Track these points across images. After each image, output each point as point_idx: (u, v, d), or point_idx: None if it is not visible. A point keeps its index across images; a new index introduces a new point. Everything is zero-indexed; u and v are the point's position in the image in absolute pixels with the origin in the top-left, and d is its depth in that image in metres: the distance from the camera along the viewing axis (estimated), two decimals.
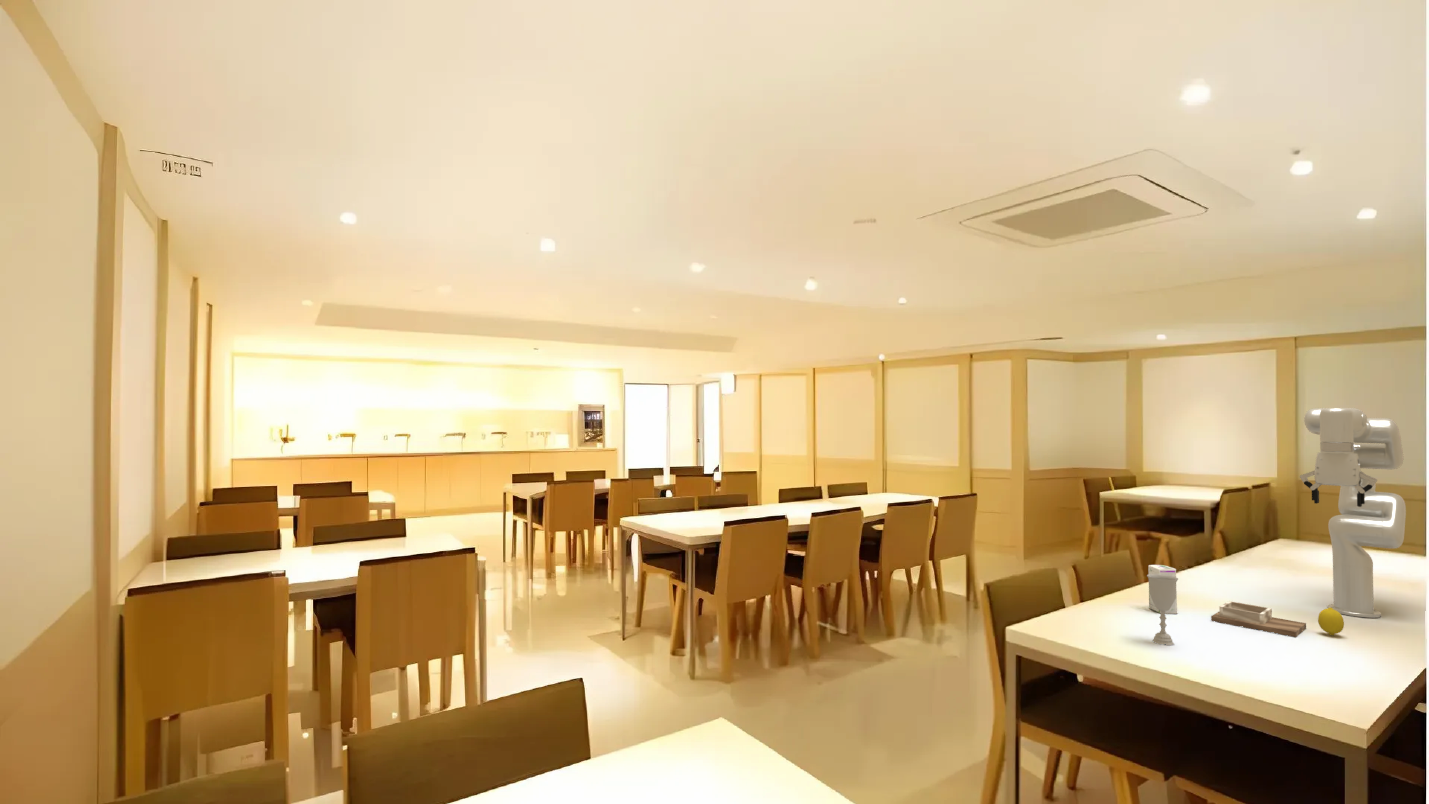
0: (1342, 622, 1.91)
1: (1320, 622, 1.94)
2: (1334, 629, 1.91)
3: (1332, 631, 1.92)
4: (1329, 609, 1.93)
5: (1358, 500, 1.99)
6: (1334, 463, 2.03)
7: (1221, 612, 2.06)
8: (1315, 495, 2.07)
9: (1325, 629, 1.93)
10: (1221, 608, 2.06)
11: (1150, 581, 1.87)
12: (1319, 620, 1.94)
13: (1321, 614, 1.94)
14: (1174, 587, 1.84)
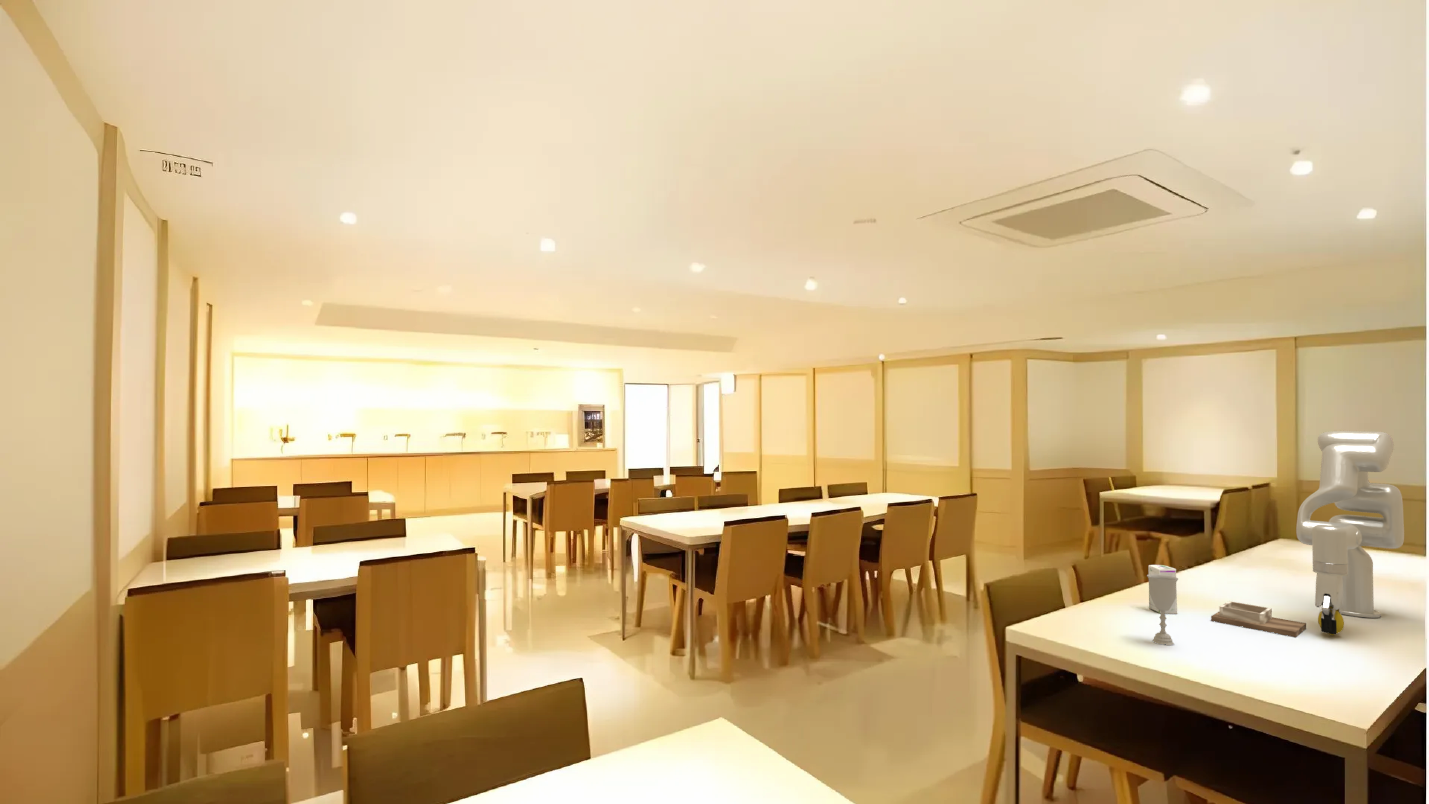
0: (1342, 622, 1.91)
1: (1320, 622, 1.94)
2: None
3: None
4: None
5: None
6: (1341, 585, 1.92)
7: (1221, 612, 2.06)
8: None
9: None
10: (1221, 608, 2.06)
11: (1150, 581, 1.87)
12: (1319, 620, 1.94)
13: (1321, 614, 1.94)
14: (1174, 587, 1.84)
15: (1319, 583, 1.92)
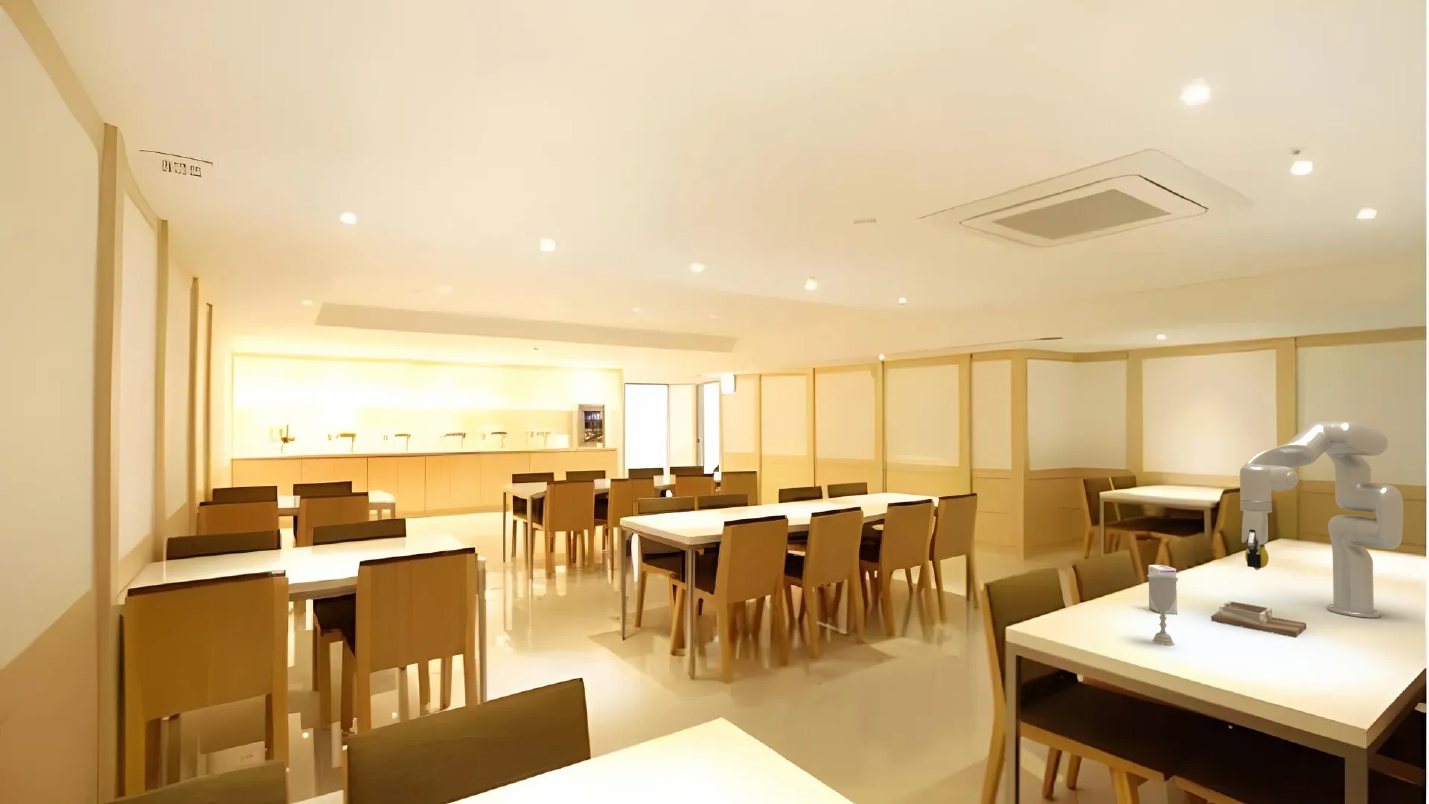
0: (1266, 557, 2.02)
1: None
2: None
3: None
4: None
5: None
6: (1266, 522, 2.03)
7: (1221, 612, 2.06)
8: (1260, 559, 2.01)
9: None
10: (1221, 608, 2.06)
11: (1150, 581, 1.87)
12: (1246, 556, 2.05)
13: None
14: (1174, 587, 1.84)
15: (1245, 520, 2.03)
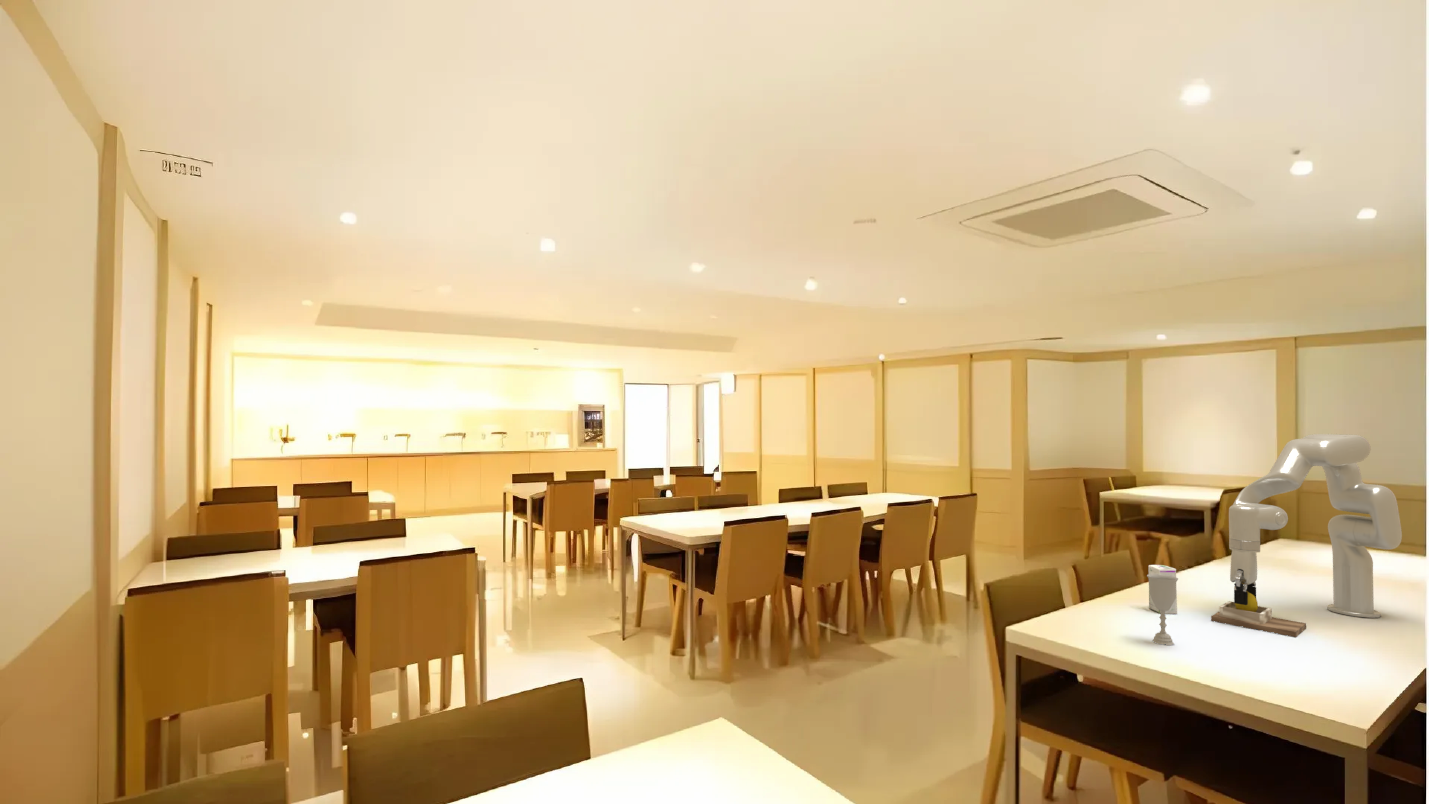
0: (1256, 604, 2.04)
1: (1236, 604, 2.07)
2: None
3: None
4: None
5: (1255, 594, 2.08)
6: (1254, 561, 2.04)
7: (1221, 612, 2.06)
8: (1247, 596, 2.02)
9: None
10: (1221, 608, 2.06)
11: (1150, 581, 1.87)
12: (1235, 603, 2.07)
13: None
14: (1174, 587, 1.84)
15: (1233, 559, 2.05)
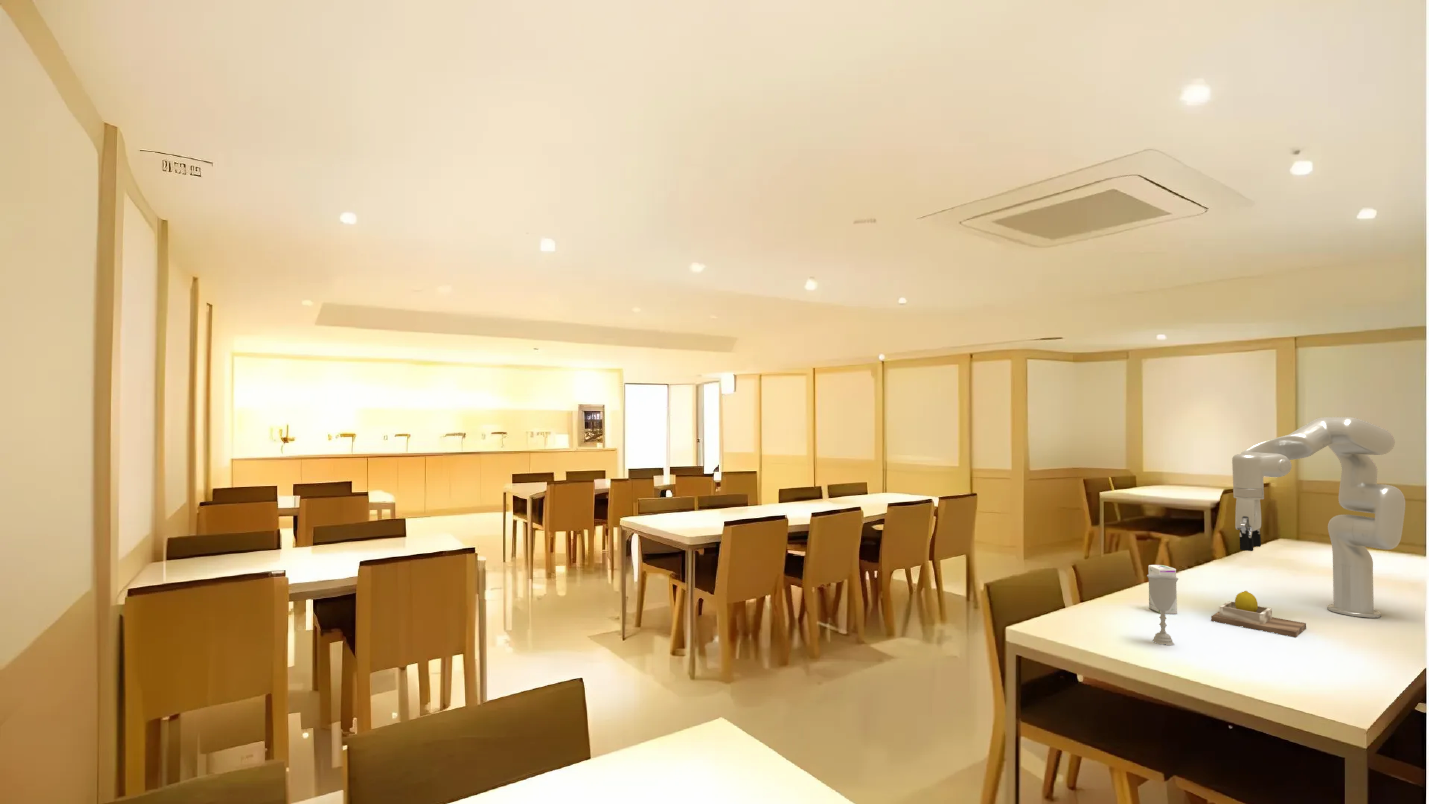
0: (1256, 604, 2.04)
1: (1236, 604, 2.07)
2: None
3: None
4: (1244, 592, 2.06)
5: (1260, 541, 2.12)
6: (1258, 508, 2.08)
7: (1221, 612, 2.06)
8: (1252, 543, 2.06)
9: None
10: (1221, 608, 2.06)
11: (1150, 581, 1.87)
12: (1235, 603, 2.07)
13: (1237, 597, 2.07)
14: (1174, 587, 1.84)
15: (1238, 507, 2.09)
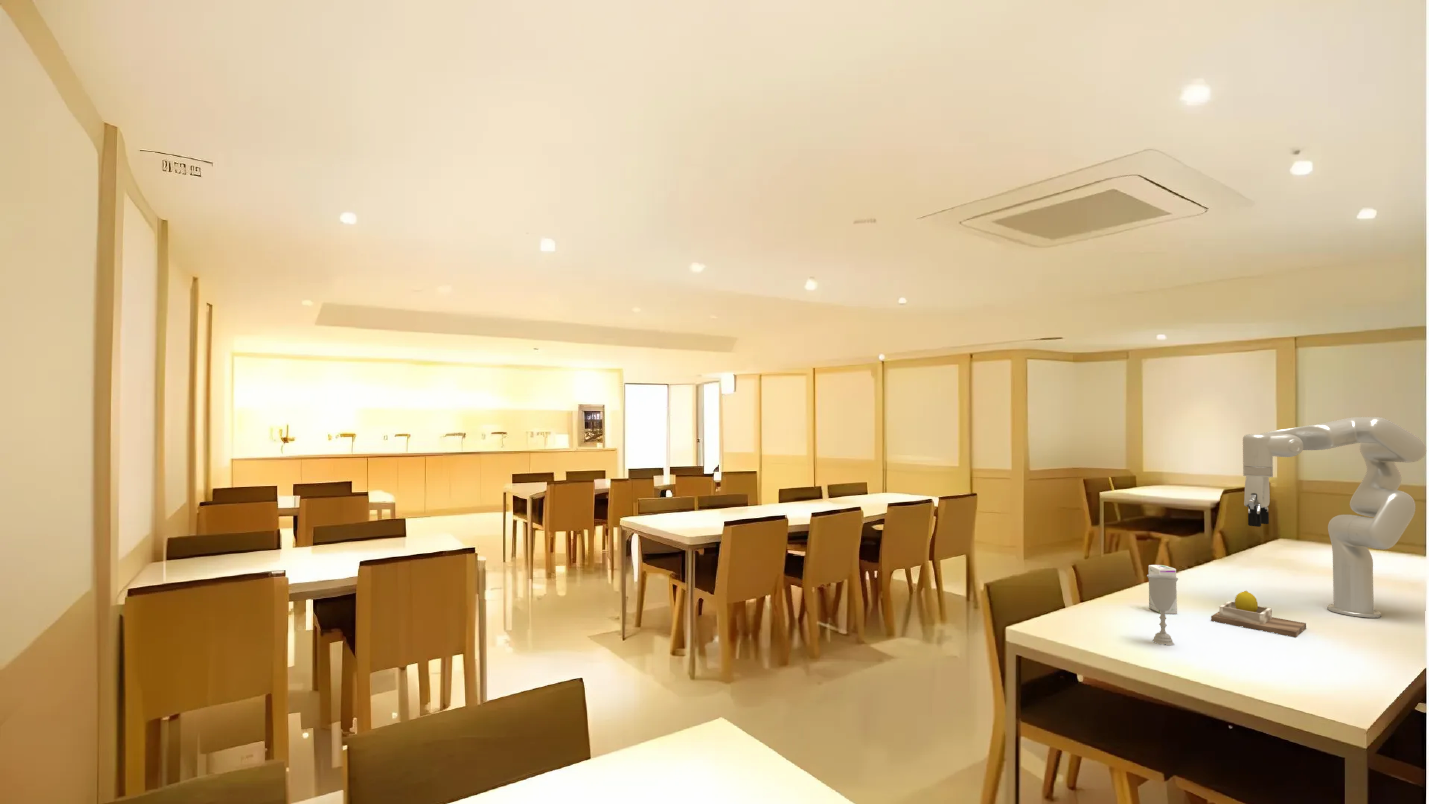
0: (1256, 604, 2.04)
1: (1236, 604, 2.07)
2: None
3: None
4: (1244, 592, 2.06)
5: (1268, 518, 2.19)
6: (1267, 486, 2.16)
7: (1221, 612, 2.06)
8: (1260, 519, 2.13)
9: None
10: (1221, 608, 2.06)
11: (1150, 581, 1.87)
12: (1235, 603, 2.07)
13: (1237, 597, 2.07)
14: (1174, 587, 1.84)
15: (1247, 484, 2.16)
